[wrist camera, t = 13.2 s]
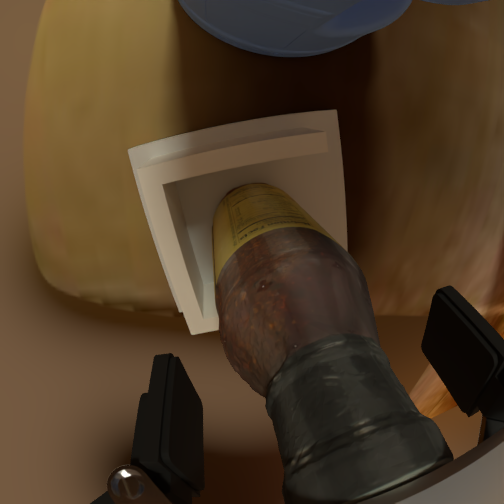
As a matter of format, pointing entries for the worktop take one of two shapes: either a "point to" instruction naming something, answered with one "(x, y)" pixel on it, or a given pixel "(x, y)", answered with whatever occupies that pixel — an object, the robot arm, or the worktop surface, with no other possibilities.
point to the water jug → (296, 22)
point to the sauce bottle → (314, 353)
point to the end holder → (225, 179)
